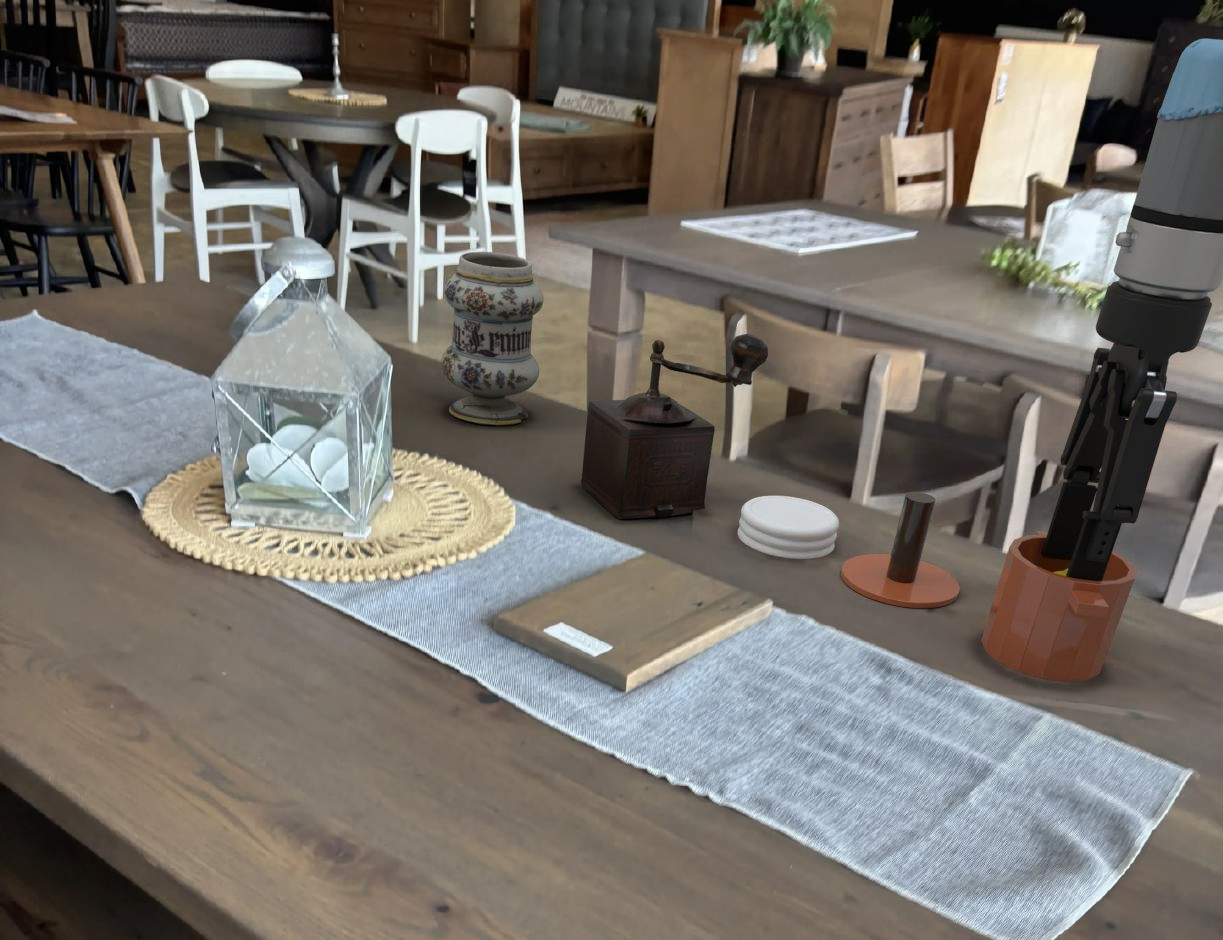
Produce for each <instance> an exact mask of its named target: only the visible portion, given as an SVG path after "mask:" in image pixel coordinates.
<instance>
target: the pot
mask: <svg viewBox="0 0 1223 940" xmlns="http://www.w3.org/2000/svg"><path fill="white" fill-rule="evenodd" d="M1047 534H1048V531H1043V530H1036V531H1035V534H1027V535H1023V536H1020V537H1017V538H1014V539H1013V541H1012V542H1011V544H1010V545H1009V547H1008V550H1007V554H1006V557H1005V561H1004V564H1003V567H1002V570H1001V574H1000V577H999V580H998V583H997V587H996V591H995V594H994V597H993V600H992V604H991V607H990V610H989V613H988V616H987V620H986V624H985V627H984V630H983V634H982V636H981V637H982V638H981V640H980V641H981V644H982V646H983V649H984V651H985V652H986V654H988V655H989V656H990V657H991V658H993V659H994V660H995V661H996V662H998V663H999V664H1001V665H1004V666H1005V667H1007V668H1010V669H1012V670H1014V671H1016V672H1019V673H1021V674H1024V675H1028V676H1031V677H1034V678H1035V677H1036V678H1038V679H1041V680H1046V681H1047V680H1049V681H1056V682H1065V683H1070V682H1071V683H1072V682H1083V681H1088V680H1091V679H1093V678H1095V677H1097V676H1099V675H1100V674H1101V672H1102V669H1103V666H1104V664H1105V660H1106V658H1107V655H1108V652H1109V650H1110V647H1111V644H1112V641H1113V640H1114V637H1115V634H1116V631H1117V628H1118V626H1119V623H1120V620H1121V618H1122V615H1123V612H1124V610H1125V607H1126V604H1127V601H1128V598H1129V596H1130V593H1131V590H1132V588H1133V586H1134V583H1135V580H1136V577H1137V574H1138V569H1137V568H1136V566H1135V565H1134V564H1133V562H1132V561H1131V560H1130V559H1128V558H1126V557H1125V556H1123V554H1120V553H1119V552H1117V551H1116V550H1113V551H1112V553H1111V556H1110V559H1109V562H1108V565H1107V568H1106V571H1105V574H1104V577H1103V579H1102V581H1091V580H1083V579H1075V578H1071V577H1067V576H1063V575H1059V574H1056V573H1053V572H1056V571H1064V570H1066V569H1067V568H1069V565H1070V562H1071V560H1063V559H1054V558H1045V557H1043V556H1042V555H1041V553H1042V550H1043V546H1044V543H1045V540H1046V537H1047Z"/></svg>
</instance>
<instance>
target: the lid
mask: <svg viewBox="0 0 1223 940" xmlns="http://www.w3.org/2000/svg"><path fill="white" fill-rule="evenodd" d="M936 501H937V500H936V497H934V496H933V495H931V494H928V493H925V492H919V491H909V492H907V493H906V494H905V495H904V500H903V504H902V509H901V512H900V516H899V521H898V524H897V527H896V532H895V537H894V541H893V545H892V549H891V554H889V553H888V554H887V553H868V554H860V555H857V556H854V557H850V558H849V559H847V560H845V562H843V564H842V566H841V570H840V576H841V579H842V581H843V582H844V584H846V586H847V587H849V588H850V589H851V590H852V591H855V592H856V593H858V594H860V595H862V596H864V597H866V598H869V599H871V600H874V601H876V602H880V603H882V604H886V605H892V606H896V607H903V608H909V609H935V608H942V607H945V606H948V605H950V604H952V603H954V602H955V601H956V600H957V599H958V597H959V594H960V590H961V587H960V583H959V582H958V580H957V579H956V578H955V577H954V576H953V575H952V574H951V573H950V572H948V571H946V570H944V569H943V568H940V567H939V566H936V565H934V564H932V563H929V562H926V561H924V560H922V555H923V552H924V548H925V544H926V539H927V536H928V531H929V528H930V524H931V520H932V517H933V513H934V509H935V505H936Z"/></svg>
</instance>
